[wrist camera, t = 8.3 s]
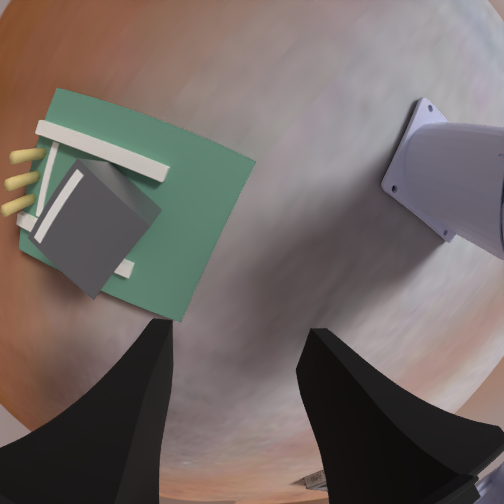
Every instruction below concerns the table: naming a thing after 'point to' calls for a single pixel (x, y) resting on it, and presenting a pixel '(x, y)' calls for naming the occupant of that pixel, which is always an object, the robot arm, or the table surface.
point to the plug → (92, 223)
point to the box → (316, 481)
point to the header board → (148, 181)
